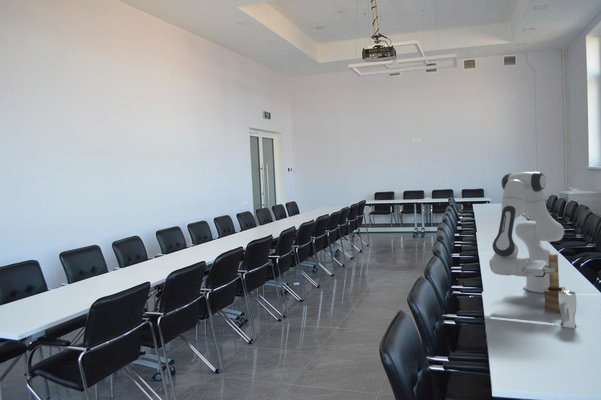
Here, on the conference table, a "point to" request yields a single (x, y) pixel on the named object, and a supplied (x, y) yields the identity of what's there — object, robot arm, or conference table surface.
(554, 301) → the socket block
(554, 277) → the dowel
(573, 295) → the beer glass
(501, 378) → the conference table surface
